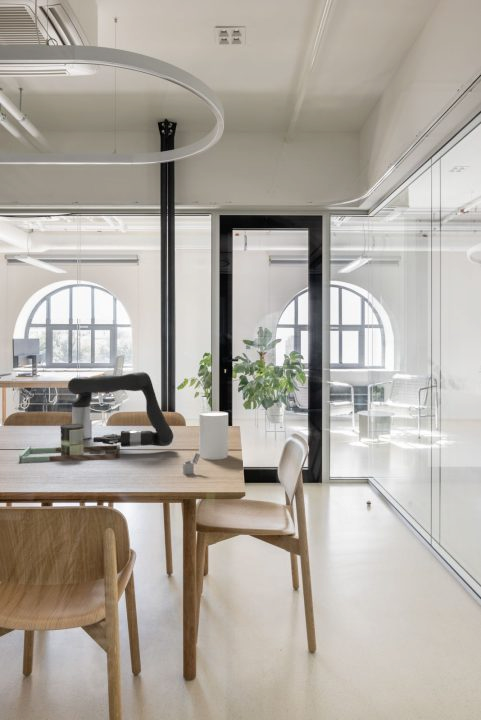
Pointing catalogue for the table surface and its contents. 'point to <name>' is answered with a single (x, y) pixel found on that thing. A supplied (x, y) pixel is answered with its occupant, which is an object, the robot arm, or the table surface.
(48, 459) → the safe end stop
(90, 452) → the mats
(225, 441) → the canister
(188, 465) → the lighter
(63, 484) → the table surface
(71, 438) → the coffee can
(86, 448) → the walnut lane
